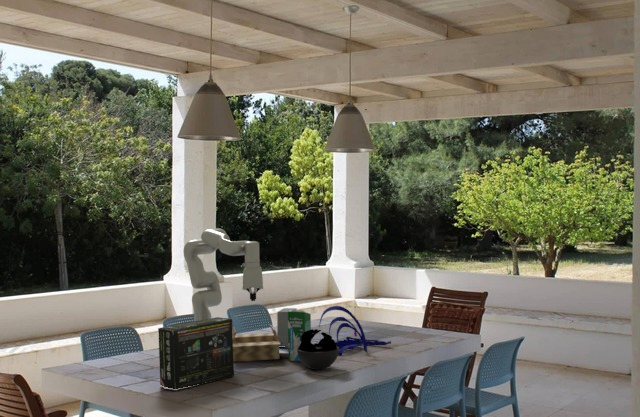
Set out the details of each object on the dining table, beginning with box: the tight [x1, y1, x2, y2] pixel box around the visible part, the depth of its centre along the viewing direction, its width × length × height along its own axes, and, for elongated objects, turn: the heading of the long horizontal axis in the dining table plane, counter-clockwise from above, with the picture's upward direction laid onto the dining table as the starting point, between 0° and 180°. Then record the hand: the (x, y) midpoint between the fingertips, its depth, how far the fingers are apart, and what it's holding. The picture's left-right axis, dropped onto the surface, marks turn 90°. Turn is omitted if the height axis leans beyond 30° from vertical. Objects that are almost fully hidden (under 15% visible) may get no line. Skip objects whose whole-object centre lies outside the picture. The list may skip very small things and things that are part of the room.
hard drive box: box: [276, 307, 298, 347], centre depth 416 cm, size 16×8×20 cm, turn 168°
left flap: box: [232, 325, 237, 341], centre depth 385 cm, size 1×17×6 cm, turn 11°
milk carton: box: [287, 309, 312, 362], centre depth 379 cm, size 9×9×25 cm
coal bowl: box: [297, 328, 339, 371], centre depth 356 cm, size 20×20×19 cm
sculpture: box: [318, 305, 392, 356], centre depth 404 cm, size 35×34×26 cm
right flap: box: [269, 324, 279, 340], centre depth 389 cm, size 1×17×6 cm, turn 10°
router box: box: [157, 316, 235, 389], centre depth 335 cm, size 36×11×27 cm, turn 140°
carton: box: [233, 332, 281, 363], centre depth 387 cm, size 24×32×9 cm
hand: (253, 300), depth 387 cm, fingers closed
